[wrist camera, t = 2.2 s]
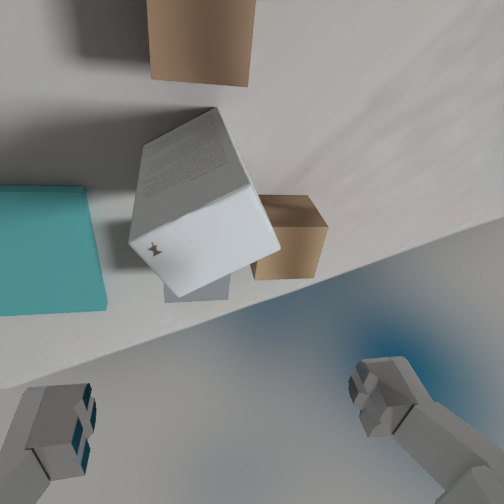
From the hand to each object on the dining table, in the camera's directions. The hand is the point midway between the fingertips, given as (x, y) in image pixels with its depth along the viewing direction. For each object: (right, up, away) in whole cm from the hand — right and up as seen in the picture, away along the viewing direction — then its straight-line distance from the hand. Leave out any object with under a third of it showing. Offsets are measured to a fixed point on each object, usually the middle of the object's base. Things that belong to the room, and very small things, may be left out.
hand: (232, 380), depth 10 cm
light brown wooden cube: (+3, +7, +19) cm, 21 cm away
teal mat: (-18, +4, +17) cm, 25 cm away
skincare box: (-4, +11, +15) cm, 19 cm away
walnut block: (-3, +18, +10) cm, 20 cm away
